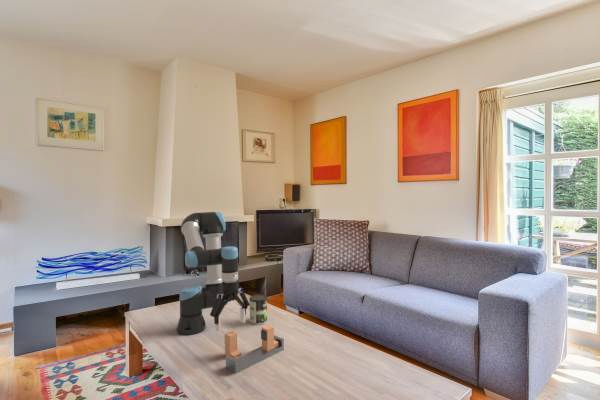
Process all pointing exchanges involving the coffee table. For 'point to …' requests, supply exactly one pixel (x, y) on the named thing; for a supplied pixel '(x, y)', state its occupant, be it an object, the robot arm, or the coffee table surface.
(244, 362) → the rail
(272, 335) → the fixed finger
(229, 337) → the block
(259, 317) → the coffee can
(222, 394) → the coffee table surface
